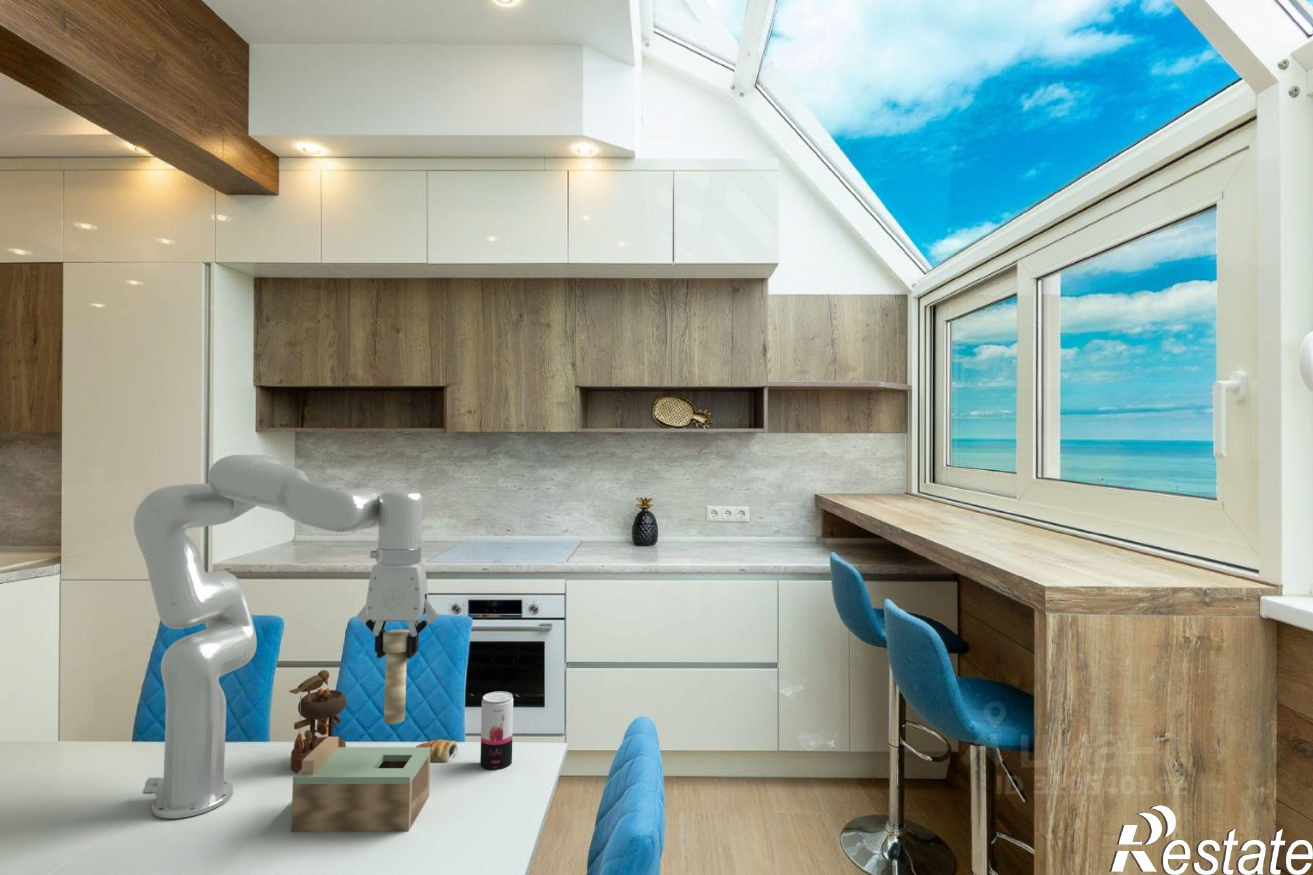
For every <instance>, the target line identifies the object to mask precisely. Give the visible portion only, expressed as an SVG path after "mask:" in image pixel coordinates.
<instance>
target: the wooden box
mask: <svg viewBox="0 0 1313 875" xmlns="http://www.w3.org/2000/svg"><path fill="white" fill-rule="evenodd" d="M407 762H408V761H383V762H382V764H381V765H380V766H379V767H378V768H404V766H405V765H406V764H407ZM430 770H431V763H430V755H429V756H428V758H427V759H426V761H425V762H424V764H423V765H422V767H421V768H420V770H419V771H418V773H417V774H416V776H415V777H414V779H413V780H412V782H411V783H410V784H293V783H292V797H291V798H292V799H291V824H290V827H291V831H290V832H291V833H293V832H294V833H299V832H300V833H303V832H304V833H312V832H314V833H317V832H318V833H319V832H321V833H323V832H333V833H335V832H337V833H338V832H339V833H340V832H344V833H345V832H347V833H349V832H350V833H351V832H353V833H354V832H357V833H358V832H360V833H361V832H364V833H365V832H410V830H411V828H412V826H413V824H414V823H415V821H416V819H417V818H418V817H419V814H420V813H421V811H422V809H423V808H424V806H425V804H426V803H427V801H428V799H429V798H430V782H431V779H430V778H431V777H430V776H431V774H430V772H431V771H430Z"/></svg>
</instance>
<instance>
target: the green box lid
mask: <svg viewBox="0 0 1313 875" xmlns="http://www.w3.org/2000/svg"><path fill="white" fill-rule="evenodd" d="M326 737H327V738H326V739H325V740H324V741H323V742H322V743H320V744H319V745H318V746H317V747H316V748H315V749H314V750H313V751H312V752H311V753H310V754H309V755H308V756H307V757H305V758H304V759H303V760H302V769H301V770H300V771H299V772H298V773H295V775H294V776H293V777H292V785H293V784H410V783H411V782H412V780H413V779H414V777H415V776H416V774H417V773H418V771H419V770H420V768H421V767H422V765H423V764H424V762H425V761H426V759H427V758H428V756H429V755H430V747H416V746H414V747H413V746H411V747H410V746H408V747H407V746H405V747H404V746H403V747H401V746H395V747H393V746H391V747H390V746H387V747H386V746H385V747H384V746H383V747H382V746H381V747H380V746H379V747H378V746H375V747H374V746H372V747H371V746H364V747H363V746H355V747H354V746H351V747H350V746H346V747H338V738H339V736H333V737H328V736H326ZM383 761H408V762H407V764H406V765H405V766H404V768H378V767H379V766H380V765H381V764H382V762H383Z"/></svg>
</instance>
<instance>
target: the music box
mask: <svg viewBox="0 0 1313 875" xmlns="http://www.w3.org/2000/svg"><path fill="white" fill-rule="evenodd" d="M329 678H330V672H329V671H328V670H325V669H322V670H320V671H319V672H318V673H317V675H313V676H310V677H309V678H307V679H305V680H304V681H303V682H301V683H300V684H299V685H297V688H293V689H290V690H288V692H289V693H291V694H295V695H298V694H299V693H300V692H301V694H300V696H299V699H300V700H299V702H298V706H297V711H298V713H299V718H301V717H302V718H304V719H302V720H301V719H300V720H299V721H296V722H294V723H293V729H294V730H298V732H299V733H298V734H297V736H296V739H295V741H294V744H293V749H292V750H291V753H290V769H291V770H290V771H292V772H293V773H295V774H297V773H298V772H299V771H300V770H301V769H302V760H303V759H304V758H305V757H307V756H308V755H309V754H310V753H311V752H312V751H313V750H314V749H315V748H316V747H317V746H318V745H319V744H320V743H322V742H323V741H324V740H325V739H326V738H327V737H334V726H336V725H337V724H340V723H341V722H342V719H341V718H340V717H339V716H338V715H339V714H340V713H341V712H342V711H343V710H345V707H346V705H347V698H346V695H345V694H344V693H343V692H342V691H340V690H336V689H335V690H334V689H330V688H326V689H323V688H322V686H323V685H324V684H325V685H327V686H329V683H328V682H329V681H328V680H329ZM315 690H317V691H315ZM312 691H313V692H312ZM303 693H307V694H305V695H304V696H303ZM302 696H303V697H302ZM316 721H317V724H316ZM308 726H309V729H307V730H305V731H304V739H303V736H302V733H301V728H304V727H308ZM316 733H318V734H320V735H321V736H317V735H316ZM326 735H327V736H326ZM338 747H347V745H346V742H345V741H344V739H342V738H341V737H338Z"/></svg>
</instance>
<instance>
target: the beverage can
mask: <svg viewBox="0 0 1313 875" xmlns="http://www.w3.org/2000/svg"><path fill="white" fill-rule="evenodd" d="M480 719H481V722H480V725H481V726H480V755H479V756H480V764H479V765H480V767H481V768H482V769H484V770H487V771H499V770H503V769H504V770H505V769H506V768H508V767H510V766H511V765H512V763H513V736H514V735H513V733H514V732H513V730H514V698H513V694H512V693H511V692H508V691H503V690H502V691H501V690H500V691H493V692H489V693H486V694H484V695H483V696H482V700H481V718H480Z"/></svg>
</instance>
